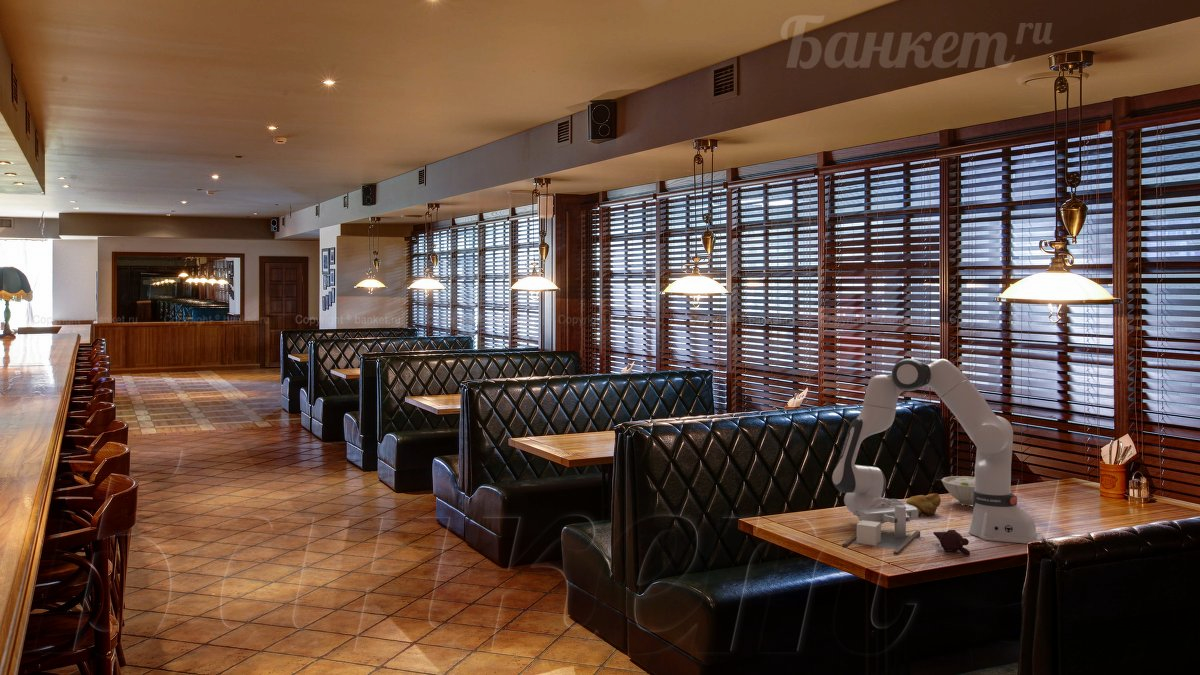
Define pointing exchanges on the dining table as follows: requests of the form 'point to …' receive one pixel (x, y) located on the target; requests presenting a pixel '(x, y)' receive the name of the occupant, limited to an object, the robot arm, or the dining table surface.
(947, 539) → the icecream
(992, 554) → the dining table surface
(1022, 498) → the dining table surface
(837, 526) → the dining table surface
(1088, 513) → the dining table surface
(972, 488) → the bowl
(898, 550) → the rails
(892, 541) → the board
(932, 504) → the bread roll
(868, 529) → the block
